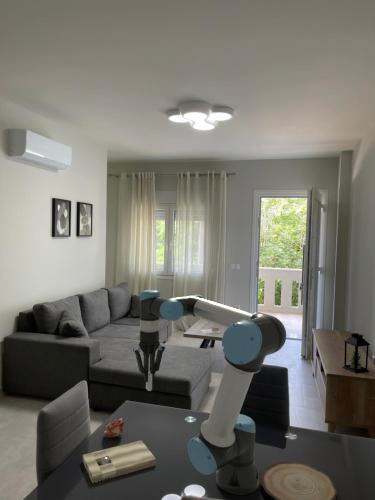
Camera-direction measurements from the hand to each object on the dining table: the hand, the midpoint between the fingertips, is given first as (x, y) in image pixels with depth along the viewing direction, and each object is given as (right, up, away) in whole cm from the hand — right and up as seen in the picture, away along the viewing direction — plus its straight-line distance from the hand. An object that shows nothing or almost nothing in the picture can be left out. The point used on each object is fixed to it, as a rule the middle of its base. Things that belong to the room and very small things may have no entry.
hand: (148, 389), depth 155 cm
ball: (-16, -25, -7) cm, 30 cm away
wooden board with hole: (-11, -26, -5) cm, 29 cm away
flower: (-17, -26, +15) cm, 34 cm away
